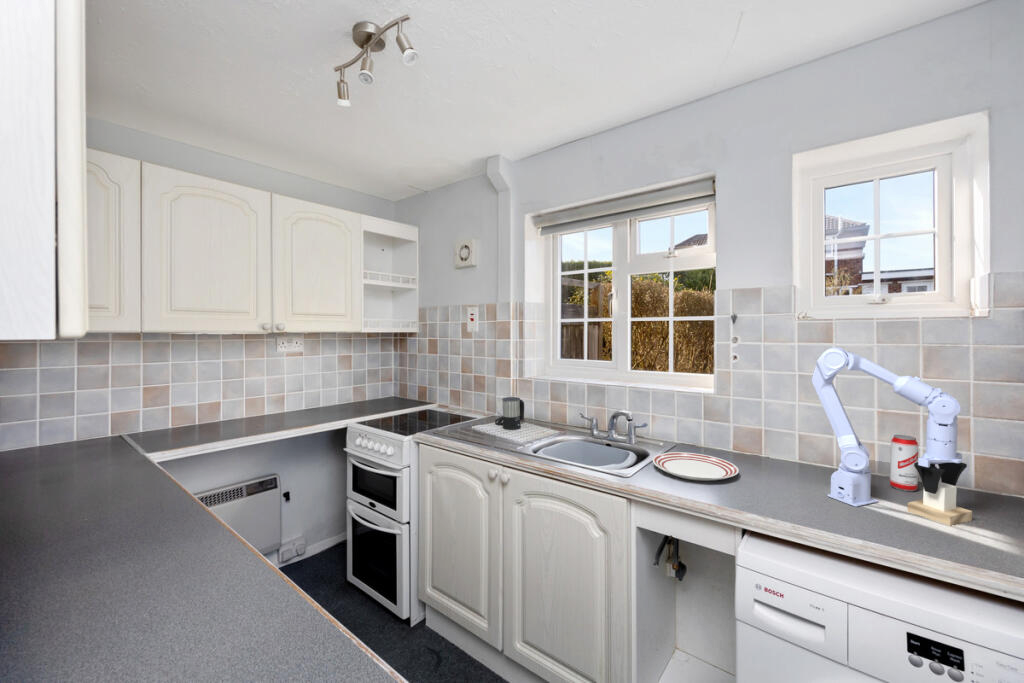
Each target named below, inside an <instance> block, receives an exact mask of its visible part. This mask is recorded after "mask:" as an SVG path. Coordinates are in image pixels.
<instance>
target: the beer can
mask: <svg viewBox="0 0 1024 683" xmlns="http://www.w3.org/2000/svg"><path fill="white" fill-rule="evenodd" d="M918 461H919V443H918V441H917V437H915V436H911V435H906V434H894V435H893V437H892V438H891V441H890V460H889V462H890V465H889V485H890V486H891V487H892V488H893V487H894V488H893V489H895V488H896V489H895V490H898V489H900V490H899V491H901V490H904V491H903V492H907V491H913V492H915V491H916V490H917V489H918V481H919V478H918V477H919V473H918V471H917V470H916V468H915V467H914V463H916V462H918Z"/></svg>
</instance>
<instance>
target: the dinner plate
mask: <svg viewBox="0 0 1024 683" xmlns="http://www.w3.org/2000/svg"><path fill="white" fill-rule="evenodd" d="M651 461H652V462H653V464H654V465H655V467H657V468H658V469H660V470H662V471H663V472H665V473H667V474H671V475H673V476H675V477H678V478H680V479H685V480H689V481H697V482H714V481H719V480H725V479H728V478H732V477H734V476H736V475H738V474H739V472H740V469H739V468H738V467H737V466H736V465H735V464H734V463H731V462H729V461H728V460H725V459H723V458H719V457H715V456H712V455H707V454H701V453H694V452H683V451H681V452H680V451H678V452H676V451H675V452H674V451H673V452H664V453H660V454H657V455H655V456H653V457H652V460H651Z"/></svg>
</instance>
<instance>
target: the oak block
mask: <svg viewBox="0 0 1024 683" xmlns="http://www.w3.org/2000/svg"><path fill="white" fill-rule="evenodd" d="M906 511H908V512H907V513H910V512H911V513H910V514H913V513H914V514H913V515H916V514H917V515H916V516H918V515H920V516H919V517H921V516H923V517H922V518H924V517H925V518H924V519H927V518H928V519H927V520H930V519H931V520H930V521H933V520H934V521H933V522H936V521H938V522H937V523H939V522H940V523H939V524H942V523H943V524H942V525H944V524H946V525H945V526H947V525H949V526H948V527H953V526H952V525H954V526H957V525H956V524H958V525H960V523H962V524H964V523H963V522H965V523H969V522H972V521H973V511H972V510H971V509H970V510H969V509H966V508H963V507H960V506H957V505H956V509H955V510H950V511H945V512H944V511H941V510H938V509H935V508H932V507H929V506H926V505H923V498H921V499H917V500H914V501H913V500H912V501H909V502H907V509H906ZM968 521H969V522H968Z"/></svg>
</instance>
